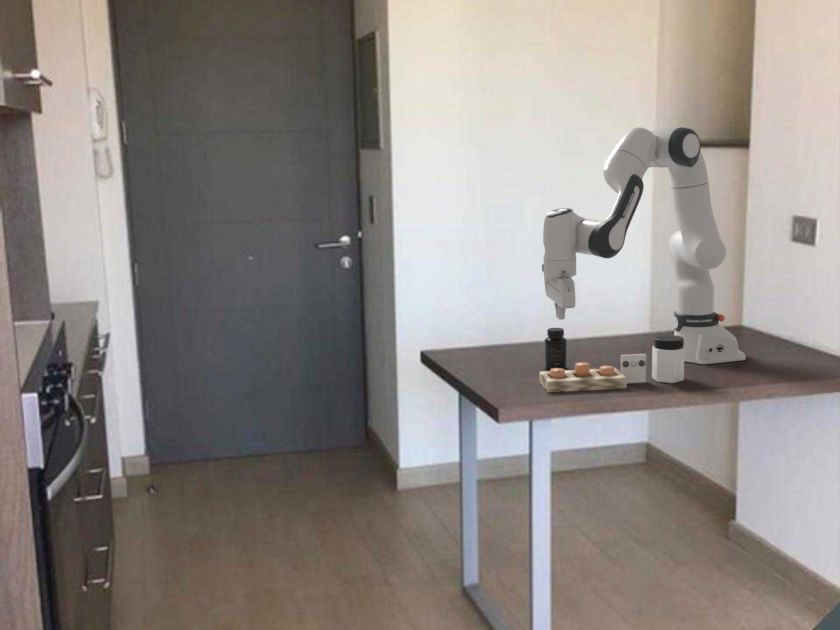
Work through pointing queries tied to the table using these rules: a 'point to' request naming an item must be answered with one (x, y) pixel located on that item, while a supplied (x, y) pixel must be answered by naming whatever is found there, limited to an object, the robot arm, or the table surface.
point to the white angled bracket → (634, 367)
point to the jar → (668, 358)
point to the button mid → (582, 369)
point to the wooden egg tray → (582, 381)
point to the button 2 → (606, 370)
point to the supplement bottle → (555, 349)
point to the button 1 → (557, 373)
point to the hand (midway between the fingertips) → (560, 318)
